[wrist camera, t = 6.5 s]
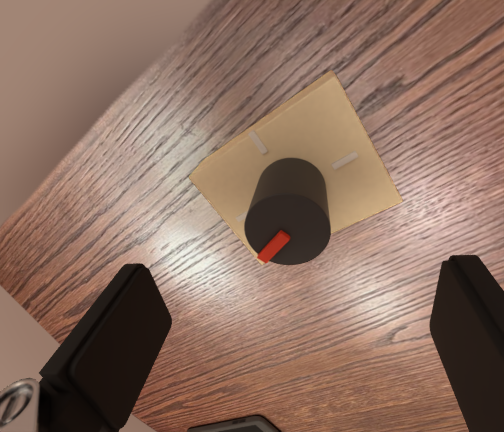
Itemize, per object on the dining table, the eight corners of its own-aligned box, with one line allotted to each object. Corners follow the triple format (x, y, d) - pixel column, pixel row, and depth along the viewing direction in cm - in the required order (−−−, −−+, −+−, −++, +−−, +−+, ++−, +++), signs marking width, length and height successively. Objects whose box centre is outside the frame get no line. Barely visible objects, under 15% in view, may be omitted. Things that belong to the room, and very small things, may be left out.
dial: (284, 143, 16) (276, 178, 12) (340, 184, 17) (351, 231, 13) (245, 194, 18) (226, 239, 14) (296, 229, 19) (293, 282, 15)
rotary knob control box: (330, 67, 16) (335, 73, 14) (391, 181, 19) (405, 204, 17) (201, 159, 21) (185, 177, 18) (267, 242, 23) (261, 268, 21)
